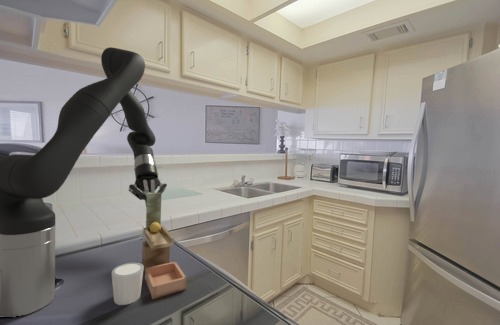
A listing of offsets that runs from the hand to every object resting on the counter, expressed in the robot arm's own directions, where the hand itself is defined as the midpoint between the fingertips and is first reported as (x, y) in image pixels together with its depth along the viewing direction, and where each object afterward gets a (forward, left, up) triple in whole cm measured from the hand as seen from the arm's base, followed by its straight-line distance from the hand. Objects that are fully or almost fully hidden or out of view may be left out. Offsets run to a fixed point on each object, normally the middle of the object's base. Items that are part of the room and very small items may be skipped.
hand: (151, 208), depth 77 cm
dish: (0, -20, -16) cm, 26 cm away
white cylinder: (-9, -21, -16) cm, 28 cm away
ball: (0, -6, -5) cm, 8 cm away
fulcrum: (0, -8, -16) cm, 18 cm away
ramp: (0, -8, -7) cm, 11 cm away
